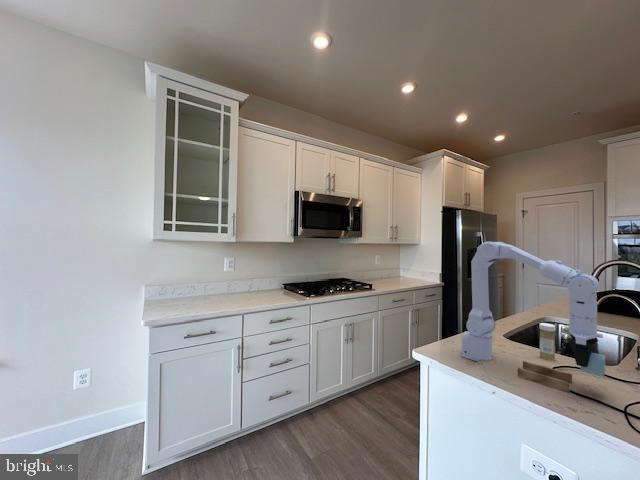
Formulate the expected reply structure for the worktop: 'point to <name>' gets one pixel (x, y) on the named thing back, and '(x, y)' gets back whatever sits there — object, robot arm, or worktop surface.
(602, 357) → the blue block
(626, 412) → the worktop surface
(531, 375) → the walnut channel
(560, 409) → the worktop surface
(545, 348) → the sprinkles bottle
